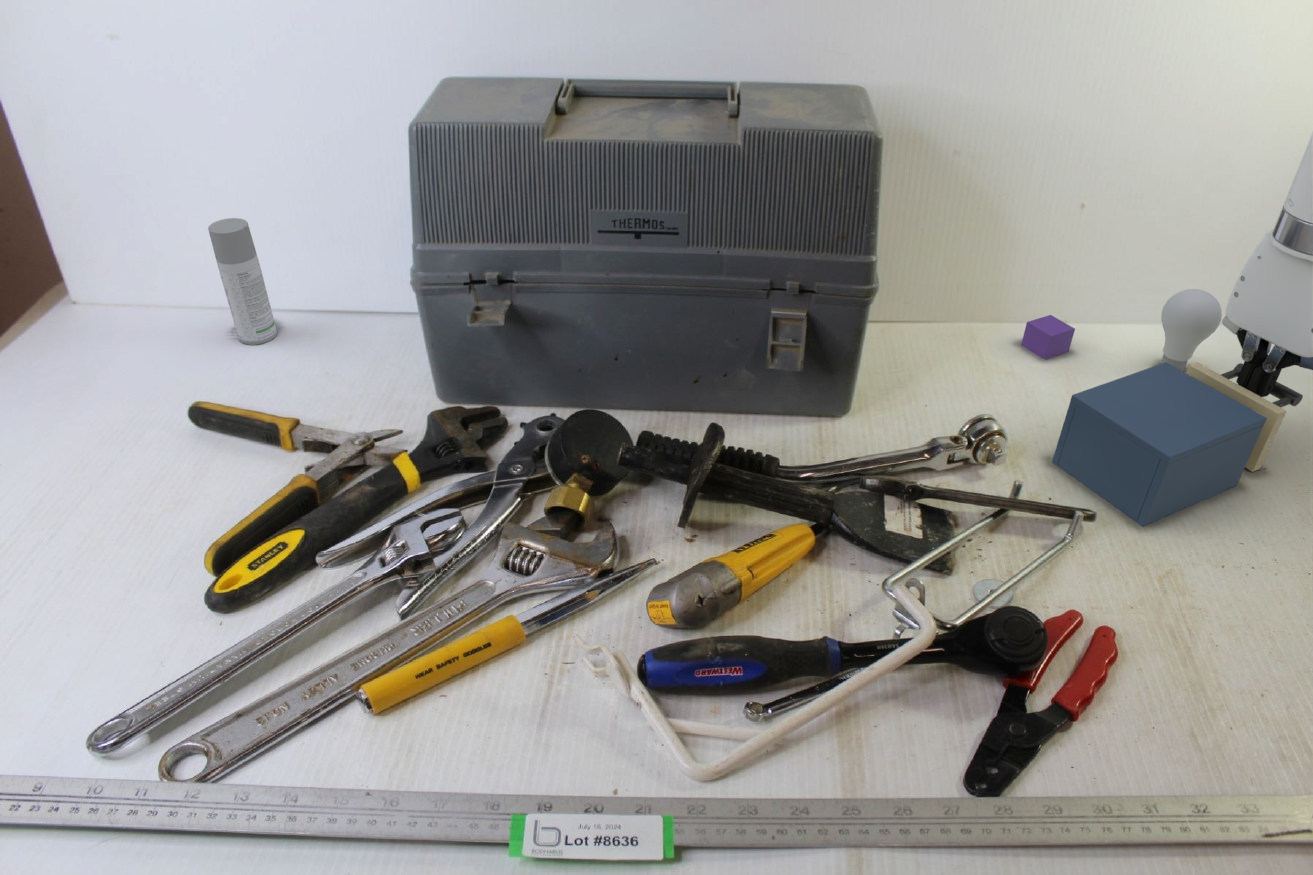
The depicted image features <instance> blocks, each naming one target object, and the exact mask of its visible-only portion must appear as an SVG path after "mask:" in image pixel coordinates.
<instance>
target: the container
mask: <svg viewBox="0 0 1313 875" xmlns="http://www.w3.org/2000/svg"><path fill="white" fill-rule="evenodd" d="M207 230H208V233H209V237H210V241H211V242H210V243H211V245H212V246H211V247H212V250H213V253H214V257H215V262H216V265H217V269H218V272H219V275H220V279H221V283H222V286H223V289H224V293H225V297H226V299H227V304H228V307H229V310H230V314H231V317H232V321H233V324H234V327H235V331H236V334H237V337H238V340H239V342H240V343H242V344H244V345H248V346H254V345H255V346H256V345H262V344H266V343H268V342H270V341H272V340H273V339H275V338H276V337H277V335H278V330H277V326H276V323H275V322H276V321H275V319H274V314H273V310H272V306H271V303H270V299H269V295H268V292H267V291H268V290H267V287H266V284H265V279H264V277H263V272H262V268H261V265H260V264H261V263H260V260H259V256H258V254H257V250H256V246H255V243H254V240H253V237H252V233H251V229H250V226H249V223H248V221H247V220H246V219H243V218H239V217H230V218H223V219H218V220H216V221H214V222H212V223H210V225H209V226H208V228H207Z"/></svg>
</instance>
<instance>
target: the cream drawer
mask: <svg viewBox="0 0 1313 875" xmlns="http://www.w3.org/2000/svg"><path fill="white" fill-rule="evenodd" d="M1243 364H1244V363H1242V362H1241V363H1240V362H1239V363H1237V364H1236V365H1235V367H1234V368H1233V369H1231V370H1229V371H1226V372H1224V373H1221V374H1220V373H1217V372H1216V371H1213V370H1212V369H1210V368H1209V367H1207V366H1205V365H1202V364H1200V363H1199V362H1192V363H1190V364H1189V365H1188V366H1187V369H1186V372H1185V373H1187V374H1189V375H1190V376H1192V377H1194V378H1196V379H1198V380H1199V381H1201V382H1203V383H1205V384H1207V385H1208V386H1210V387H1212V388H1214V389H1216V390H1217V391H1219V392H1221V393H1223V394H1225V395H1226V396H1228V397H1230V398H1232V399H1234V400H1235V401H1237V402H1239V403H1241V404H1243V405H1245V406H1246V407H1248V408H1250V409H1252V410H1254V411H1255V412H1257V413H1259V414H1261V415H1263V416H1264V417H1266V418H1267V419H1266V422H1265V424H1264V426H1263V428H1262V430H1261V432H1260V435H1259V437H1258V439H1257V441H1256V444H1255V446H1254V448H1253V450H1252V452H1251V455H1250V457H1249V459H1248V461H1247V463H1246V466H1245V468H1244V469H1247V470H1248V471H1250V472H1251V473H1254V472H1256V471H1258V470H1260V469H1261V467H1262V465H1263V463H1264V460H1265V459H1266V456H1267V455H1268V452H1269V451H1270V448H1271V446H1272V444H1273V442H1274V439H1275V437H1276V435H1277V433H1278V430H1279V429H1280V426H1281V424H1282V423H1283V421H1284V418H1285V415H1286V413H1287V410H1286V409H1284V407H1285V406H1289V405H1290V406H1291V407H1297V405H1299V404H1300V403H1301V402H1302V400H1303V394H1302V393H1300V392H1298V391H1296V390H1294V389H1292V388H1290V387H1288V386H1286V385H1284V384H1282V383H1280V382H1279V381H1278V380H1277V381H1276V383H1275V386H1274V388H1273V390H1272V392H1271V393H1270V394H1269V395H1271V396H1273V397H1274V398H1277V400H1275V401H1272V402H1271V401H1270V400H1268V399H1265V397H1260V396H1258V395H1256V394H1255V393H1253V392H1251V391H1249V390H1247V389H1245V388H1243V387H1242V386H1240V385H1238V383H1237V382H1234V381H1232V379H1234V378H1238V376H1239V373H1240V371H1241V369H1242V366H1243Z"/></svg>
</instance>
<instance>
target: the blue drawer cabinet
mask: <svg viewBox="0 0 1313 875" xmlns="http://www.w3.org/2000/svg"><path fill="white" fill-rule="evenodd" d="M1266 419H1267V418H1266V417H1264V416H1263V415H1261V414H1259V413H1257V412H1255V411H1254V410H1252V409H1250V408H1248V407H1246V406H1245V405H1243V404H1241V403H1239V402H1237V401H1235V400H1234V399H1232V398H1230V397H1228V396H1226V395H1225V394H1223V393H1221V392H1219V391H1217V390H1216V389H1214V388H1212V387H1210V386H1208V385H1207V384H1205V383H1203V382H1201V381H1199V380H1198V379H1196V378H1194V377H1192V376H1190V375H1189V374H1187V373H1186V372H1185V371H1184V370H1183V371H1181V370H1179V369H1178V368H1176V367H1174V366H1172V365H1170V364H1169V363H1167V362H1165V363H1162V364H1161V363H1159V364H1157V365H1154V366H1151V367H1148V368H1145V369H1142V370H1140V371H1137V372H1134V373H1131V374H1128V375H1126V376H1123V377H1120V378H1117V379H1114V380H1110V381H1108V382H1105V383H1102V384H1099V385H1096V386H1093V387H1090V388H1088V389H1086V390H1083V391H1079V392H1077V393H1074V394H1072V395H1071V397H1070V401H1069V404H1068V407H1067V411H1066V414H1065V417H1064V420H1063V424H1062V427H1061V431H1060V434H1059V437H1058V440H1057V444H1056V446H1055V451H1054V454H1053V458H1052V461H1051V463H1052V464H1054V465H1056V466H1057V467H1059V468H1060V469H1061V470H1063V472H1065V473H1067V474H1068V475H1070V476H1071V477H1072V478H1073V479H1075V480H1076V481H1077V482H1079V483H1080V484H1082V485H1083V486H1085V487H1086V488H1087V489H1089V490H1090V491H1091V492H1093V493H1095V494H1096V495H1098V496H1099V497H1100V498H1102V499H1103V500H1104V501H1106V502H1107V503H1109V504H1110V505H1111V506H1113V507H1115V508H1116V509H1117V510H1118V511H1119V512H1121V513H1123V514H1124V515H1125V516H1127V517H1128V518H1130V519H1131V520H1132V521H1134V522H1135V523H1136V524H1138V525H1140V526H1141V527H1142V528H1144V527H1146V526H1149V525H1151V524H1153V523H1156V522H1157V521H1160V520H1162V519H1165V518H1167V517H1169V516H1172V515H1174V514H1176V513H1178V512H1181V511H1184V510H1185V509H1187V508H1189V507H1192V506H1194V505H1196V504H1199V503H1202V502H1203V501H1206V500H1208V499H1210V498H1213V497H1216V496H1217V495H1219V494H1222V493H1224V492H1226V491H1229V490H1231V489H1232V488H1235V487H1237V485H1238V484H1239V481H1240V479H1241V477H1242V474H1243V472H1244V471H1245V469H1246V468H1245V466H1246V463H1247V461H1248V459H1249V457H1250V455H1251V452H1252V450H1253V448H1254V446H1255V444H1256V441H1257V439H1258V437H1259V435H1260V432H1261V430H1262V428H1263V426H1264V424H1265V422H1266Z"/></svg>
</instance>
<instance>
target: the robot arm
mask: <svg viewBox="0 0 1313 875" xmlns="http://www.w3.org/2000/svg"><path fill="white" fill-rule="evenodd" d="M1221 321H1222V322H1221V323H1222V325H1223V326H1224V328H1226V329H1227V330H1229V332H1231V333H1232V334H1233V335H1235V336H1236V337H1237V340H1238V342H1239V344H1240V347H1241V359H1242V360H1243V363H1242V364H1243V366H1242V369H1241V371H1240V373H1239V376H1238V377H1236V380H1235V383H1236V384H1238V385H1240V386H1242V387H1243V388H1245V389H1247V390H1249V391H1251V392H1253V393H1255V394H1256V395H1258V396H1260V397H1262V398H1265V397H1267V396H1269V395H1271V394H1270V393H1271V392H1272V390H1273V388H1274V386H1275V383H1276V381H1277V382H1278V379H1279V376H1280V374H1281V372H1282V370H1283V369H1287V368H1290V367H1293V366H1297V367H1299V368H1303V369H1307V370H1311V371H1313V132H1312V133H1311V134H1310V138H1309V140H1308V142H1307V145H1306V148H1305V150H1304V153H1303V155H1302V157H1301V159H1300V163H1299V165H1298V168H1297V170H1296V172H1295V174H1294V177H1293V180H1292V182H1291V185H1290V187H1289V190H1288V192H1287V195H1286V197H1285V200H1284V201H1283V205H1282V207H1281V210H1280V212H1279V215H1278V218H1277V220H1276V222H1275V225H1274V227H1273V228H1272V229H1270V230H1267V231H1266V232H1265V233H1264V235H1263V236H1262V237H1261V239H1260V240H1259V242H1258V243H1257V244H1256V246H1255V248H1254V249H1253V251H1252V252H1251V253H1250V256H1249V257H1248V259H1247V260H1246V262H1245V264H1244V265H1243V268H1242V270H1241V271H1240V274H1239V276H1238V278H1237V279H1236V282H1235V284H1234V285H1233V288H1232V290H1231V293H1230V295H1229V298H1228V300H1227V305H1226V307H1225V316H1224V317H1223V318H1222V319H1221ZM1272 345H1273V347H1272ZM1271 347H1272V348H1271Z"/></svg>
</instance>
